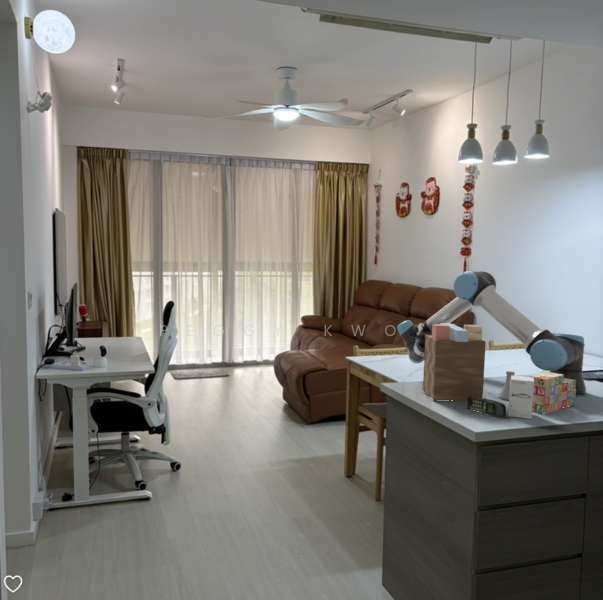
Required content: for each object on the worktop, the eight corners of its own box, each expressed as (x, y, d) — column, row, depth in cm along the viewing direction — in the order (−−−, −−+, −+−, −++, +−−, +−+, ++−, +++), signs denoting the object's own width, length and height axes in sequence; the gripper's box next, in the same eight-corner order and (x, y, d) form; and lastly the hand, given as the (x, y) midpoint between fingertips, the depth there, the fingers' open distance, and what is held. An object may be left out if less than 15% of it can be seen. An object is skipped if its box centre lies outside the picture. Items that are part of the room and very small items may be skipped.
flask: (520, 401, 205) (522, 374, 204) (500, 400, 207) (501, 373, 206) (517, 397, 212) (519, 370, 212) (497, 395, 214) (498, 369, 213)
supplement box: (507, 416, 185) (510, 378, 184) (508, 411, 192) (510, 374, 191) (532, 419, 182) (534, 381, 181) (532, 414, 189) (534, 376, 188)
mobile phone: (466, 396, 193) (507, 404, 181) (471, 394, 194) (511, 403, 183) (466, 410, 193) (506, 419, 181) (471, 409, 195) (511, 418, 183)
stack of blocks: (558, 401, 207) (560, 368, 206) (575, 405, 202) (577, 371, 201) (526, 410, 194) (528, 375, 193) (543, 414, 189) (546, 378, 188)
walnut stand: (422, 391, 216) (425, 334, 215) (468, 392, 217) (471, 335, 216) (433, 401, 202) (436, 340, 201) (482, 401, 203) (485, 341, 202)
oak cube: (463, 338, 209) (464, 324, 208) (476, 338, 209) (477, 325, 209) (468, 340, 204) (468, 326, 203) (481, 340, 204) (482, 326, 204)
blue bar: (439, 333, 221) (440, 323, 221) (449, 333, 221) (450, 323, 221) (456, 341, 199) (456, 330, 199) (467, 342, 199) (468, 330, 199)
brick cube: (431, 337, 208) (432, 324, 208) (445, 337, 208) (445, 324, 208) (435, 339, 203) (436, 325, 203) (449, 339, 203) (449, 326, 203)
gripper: (453, 353, 247) (469, 335, 228) (397, 352, 246) (408, 334, 226) (451, 337, 250) (466, 318, 231) (395, 336, 249) (406, 317, 230)
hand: (437, 326), depth 229 cm, fingers open, 13 cm apart
